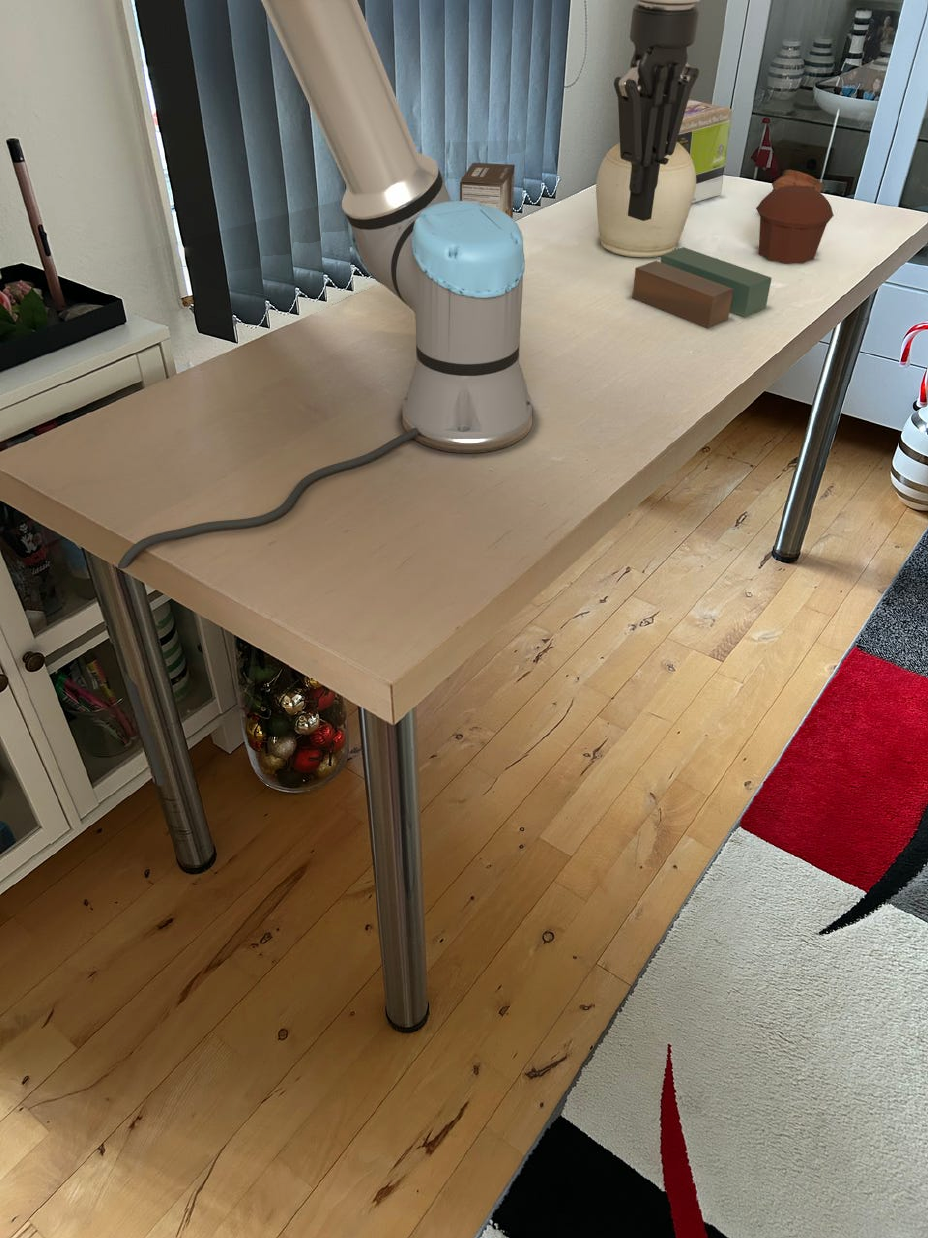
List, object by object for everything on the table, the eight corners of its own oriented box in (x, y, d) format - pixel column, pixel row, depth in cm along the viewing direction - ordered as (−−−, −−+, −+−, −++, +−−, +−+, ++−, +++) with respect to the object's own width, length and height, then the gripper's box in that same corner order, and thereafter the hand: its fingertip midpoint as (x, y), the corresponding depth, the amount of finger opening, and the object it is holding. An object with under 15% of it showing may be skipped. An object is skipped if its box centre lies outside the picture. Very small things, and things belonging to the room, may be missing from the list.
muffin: (824, 245, 164) (839, 181, 158) (823, 269, 156) (839, 203, 149) (750, 238, 167) (761, 174, 160) (745, 262, 158) (758, 196, 152)
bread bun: (747, 211, 178) (770, 165, 176) (789, 234, 182) (811, 188, 179) (782, 215, 168) (807, 165, 165) (825, 238, 171) (850, 190, 169)
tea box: (680, 183, 189) (692, 96, 180) (721, 196, 183) (735, 108, 174) (623, 199, 182) (632, 109, 173) (664, 213, 176) (676, 121, 166)
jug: (678, 267, 157) (703, 90, 141) (581, 255, 160) (595, 81, 144) (693, 235, 168) (718, 67, 152) (602, 224, 171) (617, 59, 155)
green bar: (744, 317, 142) (750, 286, 139) (657, 284, 151) (661, 254, 148) (765, 308, 144) (772, 277, 142) (679, 276, 154) (683, 246, 151)
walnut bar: (707, 328, 139) (713, 296, 136) (631, 298, 147) (635, 267, 144) (728, 319, 141) (733, 288, 138) (652, 290, 149) (656, 260, 147)
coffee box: (470, 270, 155) (472, 160, 145) (511, 274, 154) (515, 163, 144) (458, 293, 148) (459, 179, 138) (501, 297, 147) (504, 182, 137)
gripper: (654, 13, 109) (627, 235, 124) (728, 3, 115) (694, 214, 130) (603, 4, 113) (583, 219, 128) (677, -6, 120) (650, 200, 135)
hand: (639, 216), depth 129 cm, fingers closed
